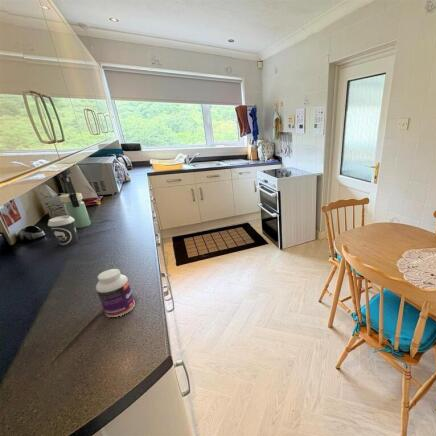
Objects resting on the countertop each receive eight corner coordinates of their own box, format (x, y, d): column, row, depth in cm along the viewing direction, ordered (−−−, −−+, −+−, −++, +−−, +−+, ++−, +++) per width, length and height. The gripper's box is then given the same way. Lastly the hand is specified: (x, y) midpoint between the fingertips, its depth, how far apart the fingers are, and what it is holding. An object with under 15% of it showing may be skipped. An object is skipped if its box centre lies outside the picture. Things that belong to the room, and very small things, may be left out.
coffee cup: (84, 245, 117) (74, 218, 112) (59, 252, 111) (47, 223, 105) (81, 239, 123) (71, 213, 118) (56, 246, 116) (45, 218, 111)
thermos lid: (63, 198, 136) (61, 194, 135) (83, 196, 141) (82, 191, 140) (59, 203, 129) (57, 197, 128) (81, 200, 134) (79, 195, 133)
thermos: (67, 228, 137) (57, 201, 130) (79, 222, 145) (70, 197, 139) (83, 228, 137) (74, 201, 131) (94, 222, 145) (86, 197, 139)
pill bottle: (136, 312, 76) (125, 275, 70) (106, 323, 71) (91, 285, 66) (134, 298, 82) (124, 263, 76) (106, 307, 77) (93, 271, 72)
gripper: (46, 165, 131) (60, 203, 139) (56, 170, 119) (70, 210, 127) (64, 164, 137) (76, 200, 145) (74, 168, 125) (87, 207, 133)
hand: (74, 205), depth 136 cm, fingers closed on thermos lid, 9 cm apart
